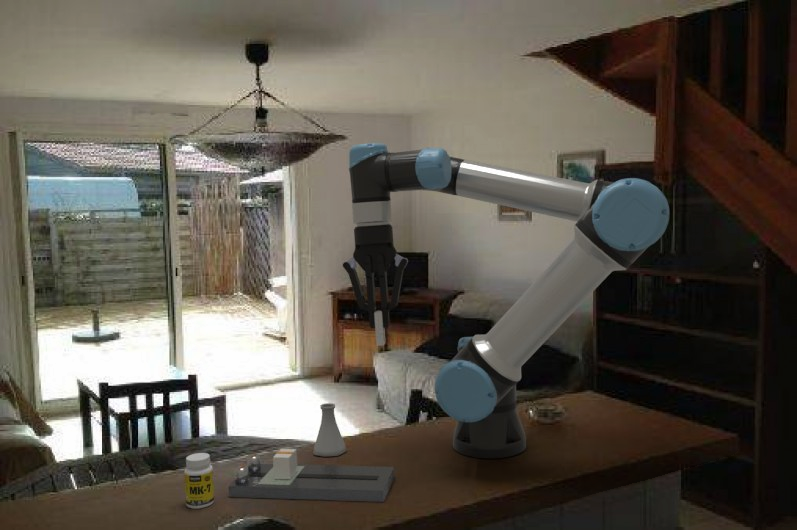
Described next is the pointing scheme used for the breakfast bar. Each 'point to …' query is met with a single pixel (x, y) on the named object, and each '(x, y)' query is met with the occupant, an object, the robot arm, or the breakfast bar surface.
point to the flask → (329, 434)
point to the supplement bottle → (199, 481)
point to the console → (312, 482)
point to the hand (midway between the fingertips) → (381, 344)
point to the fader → (285, 463)
